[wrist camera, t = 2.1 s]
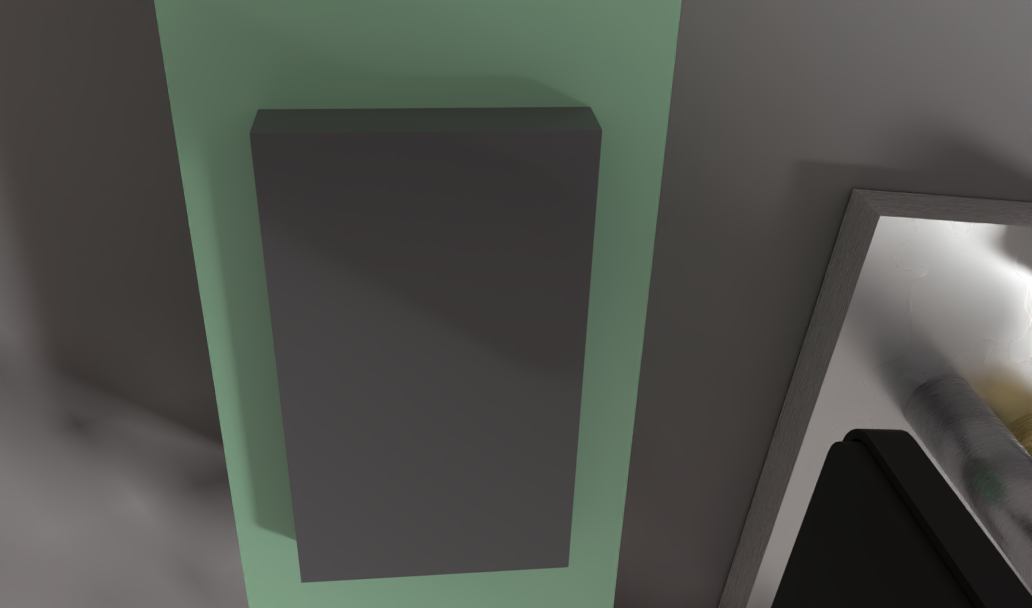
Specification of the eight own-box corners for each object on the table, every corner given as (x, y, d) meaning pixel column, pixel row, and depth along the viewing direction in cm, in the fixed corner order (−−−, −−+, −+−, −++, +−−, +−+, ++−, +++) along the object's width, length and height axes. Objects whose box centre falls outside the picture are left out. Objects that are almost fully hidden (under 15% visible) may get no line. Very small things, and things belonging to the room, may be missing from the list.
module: (211, -166, 14) (115, -110, 9) (609, -157, 15) (714, -101, 10) (285, 464, 21) (250, 698, 16) (566, 451, 21) (619, 672, 16)
